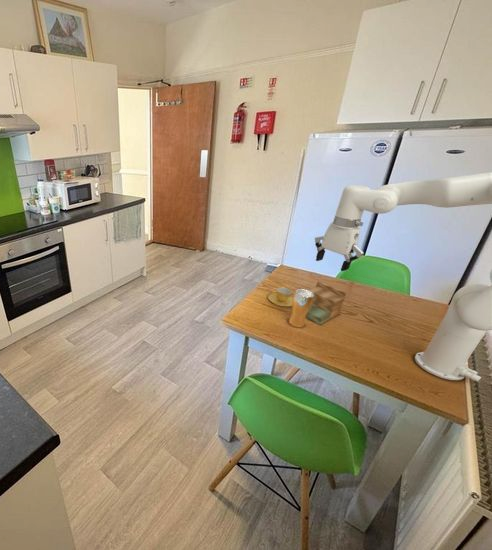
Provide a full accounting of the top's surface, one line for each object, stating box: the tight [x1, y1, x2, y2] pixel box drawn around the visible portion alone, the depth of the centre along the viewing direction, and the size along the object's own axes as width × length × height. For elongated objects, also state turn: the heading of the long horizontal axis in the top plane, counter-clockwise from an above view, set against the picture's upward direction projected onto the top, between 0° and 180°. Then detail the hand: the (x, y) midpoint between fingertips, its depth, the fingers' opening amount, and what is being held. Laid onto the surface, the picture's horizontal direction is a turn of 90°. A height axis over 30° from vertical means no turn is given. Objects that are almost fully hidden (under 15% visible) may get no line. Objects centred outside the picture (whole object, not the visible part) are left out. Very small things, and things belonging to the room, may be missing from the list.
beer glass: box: [288, 288, 314, 328], centre depth 123 cm, size 7×7×15 cm
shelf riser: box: [305, 281, 348, 326], centre depth 131 cm, size 12×15×11 cm
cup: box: [267, 286, 294, 307], centre depth 142 cm, size 12×12×5 cm
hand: (331, 265), depth 113 cm, fingers open, 9 cm apart
